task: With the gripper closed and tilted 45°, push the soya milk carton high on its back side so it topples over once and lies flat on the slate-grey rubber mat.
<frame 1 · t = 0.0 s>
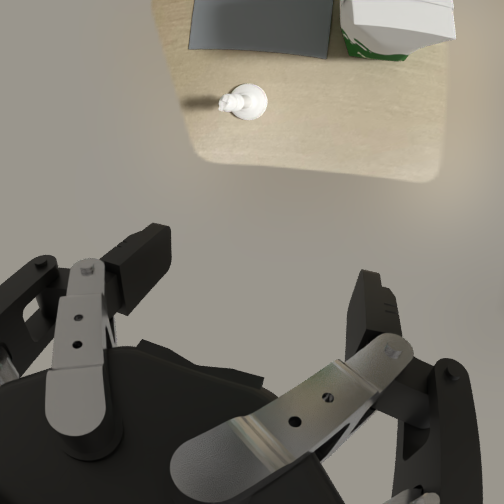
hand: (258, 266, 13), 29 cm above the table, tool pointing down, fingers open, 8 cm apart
chess piece: (248, 101, 37), on the table
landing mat: (258, 16, 31), on the table
soya milk: (374, 32, 29), on the table
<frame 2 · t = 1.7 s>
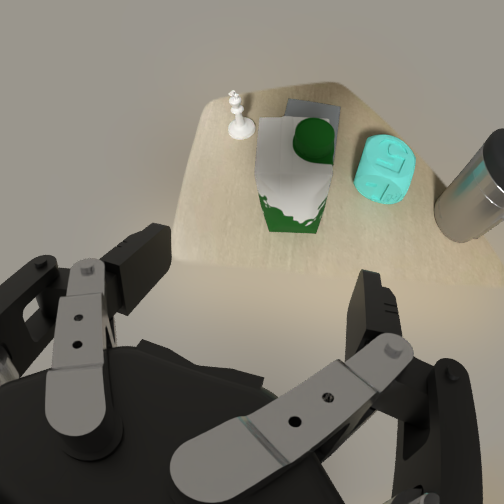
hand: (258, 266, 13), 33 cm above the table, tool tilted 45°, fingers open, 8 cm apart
chess piece: (242, 129, 54), on the table
decorative dice: (378, 182, 48), on the table
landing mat: (307, 138, 52), on the table
soya milk: (292, 212, 49), on the table
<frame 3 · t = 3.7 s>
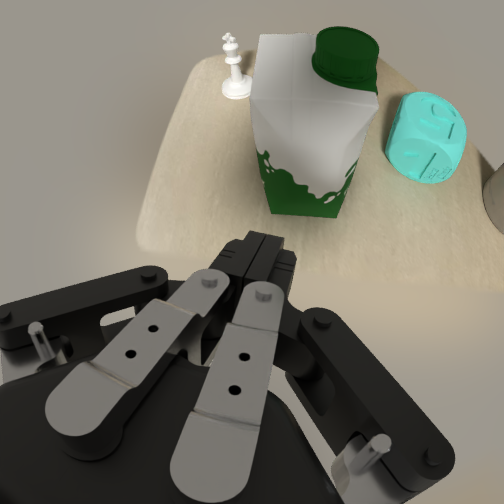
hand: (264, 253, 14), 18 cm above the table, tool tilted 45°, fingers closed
chess piece: (239, 88, 41), on the table
decorative dice: (414, 156, 35), on the table
soya milk: (304, 188, 35), on the table
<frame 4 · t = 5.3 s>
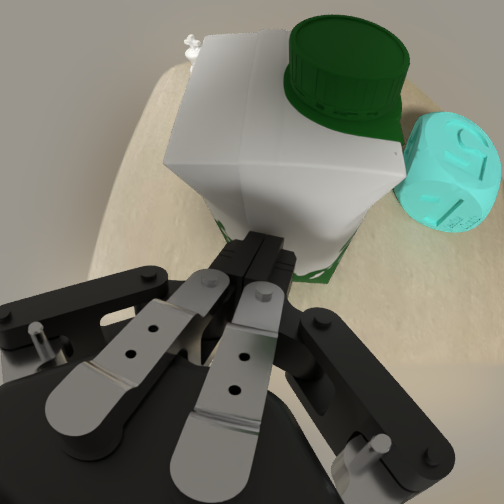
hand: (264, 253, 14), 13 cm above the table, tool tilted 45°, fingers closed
chess piece: (211, 104, 33), on the table
decorative dice: (430, 193, 27), on the table
soya milk: (287, 242, 27), on the table, touching gripper
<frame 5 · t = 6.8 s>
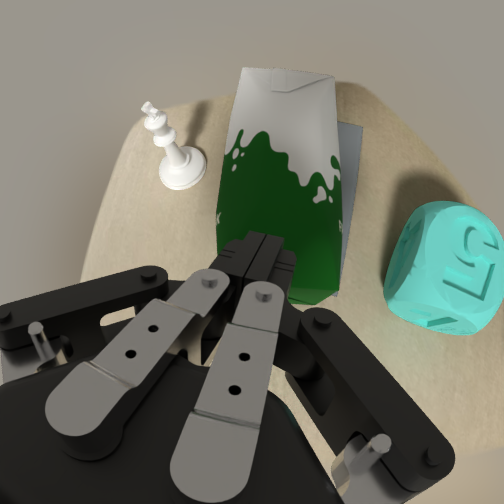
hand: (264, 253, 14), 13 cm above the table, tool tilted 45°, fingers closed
chess piece: (183, 169, 31), on the table
decorative dice: (425, 282, 25), on the table
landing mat: (301, 189, 29), on the table
soya milk: (273, 299, 21), point 5 cm above the table, touching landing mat
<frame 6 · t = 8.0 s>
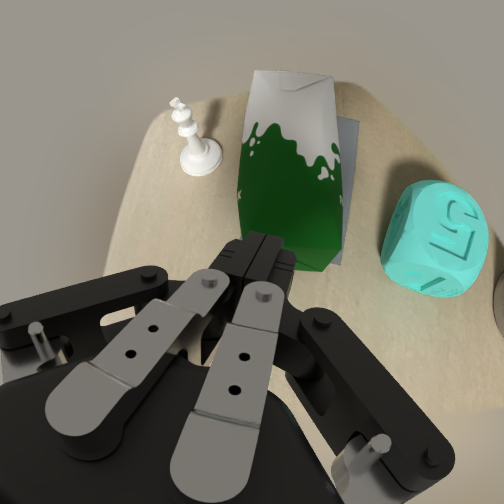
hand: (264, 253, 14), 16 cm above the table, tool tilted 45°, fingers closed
chess piece: (201, 159, 35), on the table
decorative dice: (417, 253, 29), on the table
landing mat: (306, 174, 32), on the table
soya milk: (287, 262, 25), point 5 cm above the table, touching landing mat
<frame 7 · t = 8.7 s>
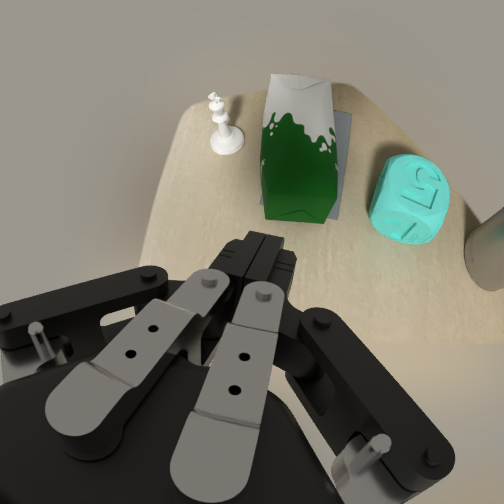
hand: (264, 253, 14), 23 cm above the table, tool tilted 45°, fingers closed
chess piece: (227, 141, 44), on the table
decorative dice: (398, 213, 38), on the table
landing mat: (310, 154, 41), on the table
soya milk: (297, 211, 34), point 5 cm above the table, touching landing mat
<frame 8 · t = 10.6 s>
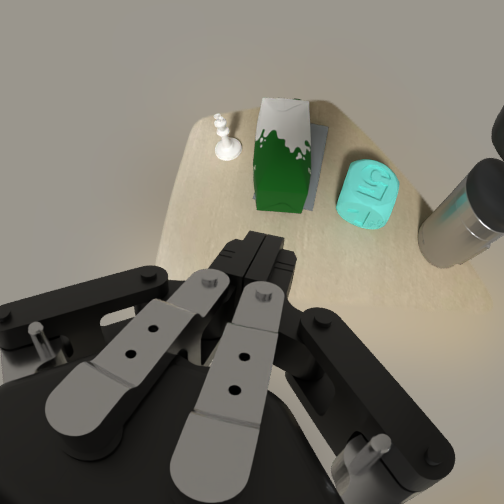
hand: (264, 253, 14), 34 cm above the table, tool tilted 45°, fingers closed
chess piece: (228, 150, 56), on the table
decorative dice: (361, 205, 50), on the table
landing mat: (293, 159, 53), on the table
soya milk: (280, 203, 46), point 5 cm above the table, touching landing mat
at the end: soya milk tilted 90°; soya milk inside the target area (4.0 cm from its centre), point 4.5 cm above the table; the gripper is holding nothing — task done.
